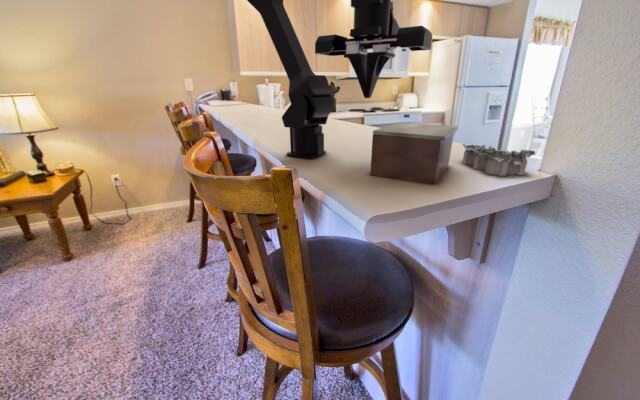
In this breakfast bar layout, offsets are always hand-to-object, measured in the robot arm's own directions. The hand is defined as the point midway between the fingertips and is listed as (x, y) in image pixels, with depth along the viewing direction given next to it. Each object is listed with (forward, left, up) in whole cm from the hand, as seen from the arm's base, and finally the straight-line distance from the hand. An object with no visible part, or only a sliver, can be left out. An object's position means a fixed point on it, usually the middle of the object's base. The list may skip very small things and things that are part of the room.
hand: (367, 98), depth 52 cm
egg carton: (+21, +9, -12) cm, 26 cm away
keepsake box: (+9, 0, -12) cm, 15 cm away
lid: (+9, 0, -5) cm, 11 cm away
